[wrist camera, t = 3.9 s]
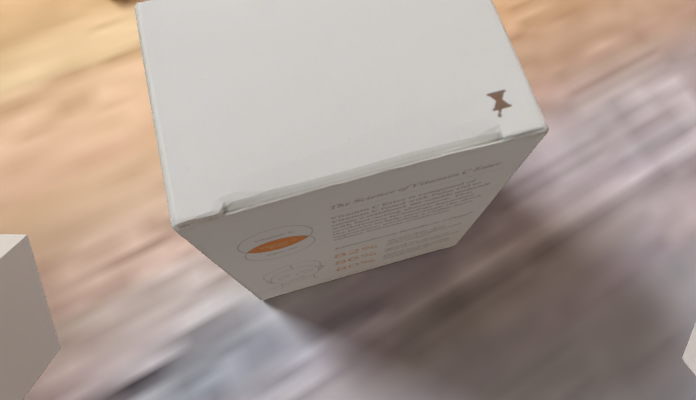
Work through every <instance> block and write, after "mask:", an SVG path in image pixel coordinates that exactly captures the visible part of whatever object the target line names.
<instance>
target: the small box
mask: <svg viewBox="0 0 696 400" xmlns="http://www.w3.org/2000/svg"><path fill="white" fill-rule="evenodd" d="M135 14H136V20H137V26H138V32H139V38H140V44H141V50H142V56H143V62H144V69H145V74H146V80H147V86H148V92H149V98H150V104H151V110H152V115H153V121H154V127H155V133H156V139H157V145H158V151H159V156H160V162H161V168H162V174H163V179H164V185H165V191H166V197H167V202H168V208H169V214H170V220H171V225H172V227H173V229H174V230H175V231H176V232H177V233H178V234H179V235H181V236H182V237H183V238H185V239H186V240H187V241H188V242H190V243H191V244H192V245H193V246H195V247H196V248H197V249H198V250H199V251H201V252H202V253H203V254H204V255H205V256H207V257H208V258H209V259H210V260H212V261H213V262H214V263H215V264H217V265H218V266H219V267H220V268H222V269H223V270H224V271H225V272H226V273H228V274H229V275H230V276H231V277H233V278H234V279H235V280H236V281H238V282H239V283H240V284H241V285H243V286H244V287H245V288H247V289H248V290H249V291H250V292H252V293H253V294H254V295H255V296H256V297H258V298H259V299H260V300H266V299H269V298H272V297H275V296H279V295H282V294H286V293H289V292H293V291H296V290H299V289H303V288H307V287H310V286H314V285H317V284H321V283H324V282H328V281H331V280H335V279H338V278H342V277H345V276H349V275H352V274H355V273H359V272H363V271H366V270H370V269H373V268H377V267H380V266H384V265H388V264H391V263H394V262H398V261H401V260H405V259H408V258H412V257H415V256H419V255H422V254H426V253H429V252H433V251H436V250H440V249H444V248H448V247H452V246H455V245H456V244H457V243H458V242H459V240H460V239H461V238H462V237H463V235H464V234H465V233H466V232H467V231H468V230H469V228H470V227H471V226H472V225H473V224H474V222H475V221H476V220H477V219H478V217H479V216H480V215H481V214H482V212H483V211H484V210H485V209H486V208H487V206H488V205H489V204H490V203H491V201H492V200H493V199H494V198H495V196H496V195H497V194H498V193H499V191H500V190H501V189H502V188H503V186H504V185H505V184H506V183H507V181H508V180H509V179H510V177H511V176H512V175H513V174H514V172H515V171H516V170H517V169H518V168H519V167H520V166H521V164H522V163H523V162H524V161H525V159H526V158H527V157H528V156H529V154H530V153H531V152H532V151H533V149H534V148H535V147H536V146H537V144H538V143H539V142H540V141H541V140H542V139H543V138H544V136H545V135H546V134H547V133H548V130H549V128H548V125H547V123H546V121H545V119H544V117H543V114H542V112H541V110H540V107H539V105H538V103H537V101H536V98H535V96H534V94H533V92H532V89H531V87H530V84H529V82H528V80H527V78H526V75H525V73H524V71H523V69H522V67H521V64H520V62H519V60H518V58H517V55H516V53H515V51H514V49H513V46H512V44H511V42H510V40H509V37H508V35H507V33H506V31H505V28H504V26H503V24H502V22H501V20H500V17H499V15H498V13H497V11H496V9H495V6H494V4H493V2H492V0H147V1H141V2H138V3H137V4H136V6H135Z"/></svg>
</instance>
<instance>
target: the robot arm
mask: <svg viewBox="0 0 696 400" xmlns="http://www.w3.org/2000/svg"><path fill="white" fill-rule="evenodd" d="M60 348H61V347H60V344H59V341H58V337H57V334H56V330H55V327H54V324H53V320H52V317H51V313H50V310H49V306H48V303H47V300H46V296H45V293H44V289H43V286H42V283H41V279H40V276H39V272H38V269H37V265H36V262H35V259H34V255H33V252H32V248H31V245H30V242H29V238H28V235H21V234H0V400H23V399H24V397H25V396H26V395H27V393H28V392H29V391H30V389H31V388H32V386H33V385H34V384H35V382H36V381H37V380H38V378H39V377H40V376H41V374H42V373H43V371H44V370H45V369H46V367H47V366H48V365H49V363H50V362H51V360H52V359H53V358H54V356H55V355H56V354H57V352H58V351H59V350H60ZM682 359H683V360H684V362H685V363H686V364H687V365H688V367H689V368H690V369H691V370H692V372H693V373H694V374H695V376H696V323H695V325H694V328H693V331H692V333H691V336H690V339H689V341H688V344H687V346H686V349H685V352H684V354H683V357H682Z"/></svg>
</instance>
